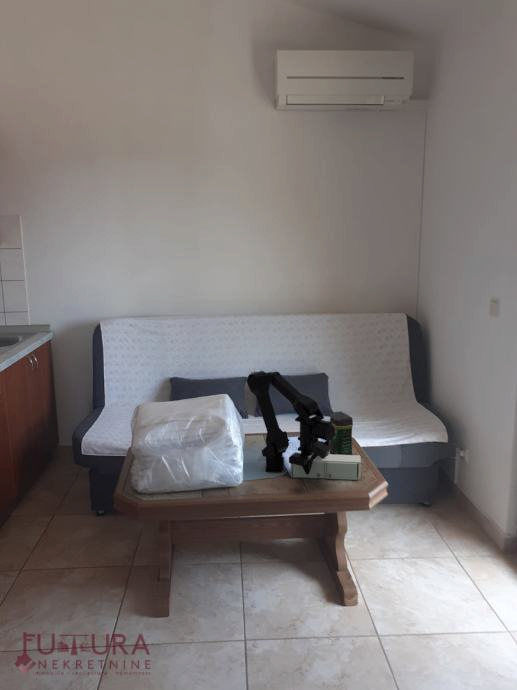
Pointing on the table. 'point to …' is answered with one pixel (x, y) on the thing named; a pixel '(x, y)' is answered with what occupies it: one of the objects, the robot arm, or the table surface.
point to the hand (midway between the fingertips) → (307, 473)
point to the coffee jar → (341, 434)
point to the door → (315, 471)
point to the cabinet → (341, 466)
